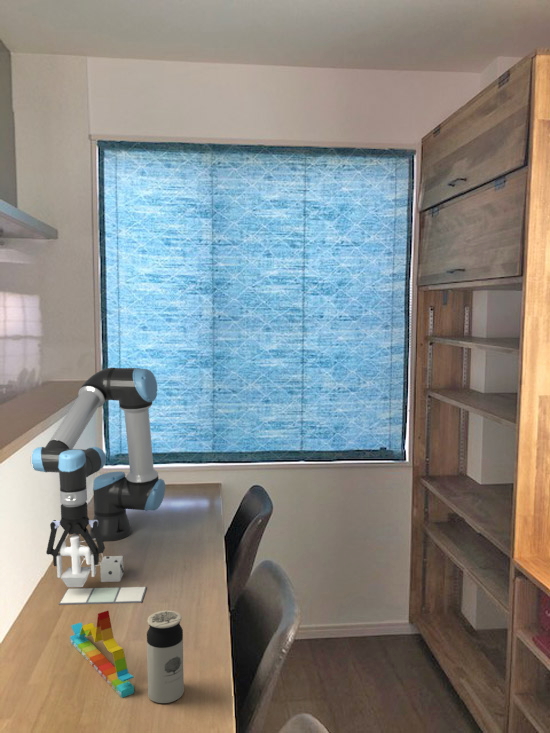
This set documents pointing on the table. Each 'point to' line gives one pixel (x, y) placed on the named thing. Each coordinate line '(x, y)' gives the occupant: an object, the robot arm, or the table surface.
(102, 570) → the die
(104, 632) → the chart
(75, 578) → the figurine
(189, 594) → the table surface
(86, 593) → the game mat
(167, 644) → the travel mug
